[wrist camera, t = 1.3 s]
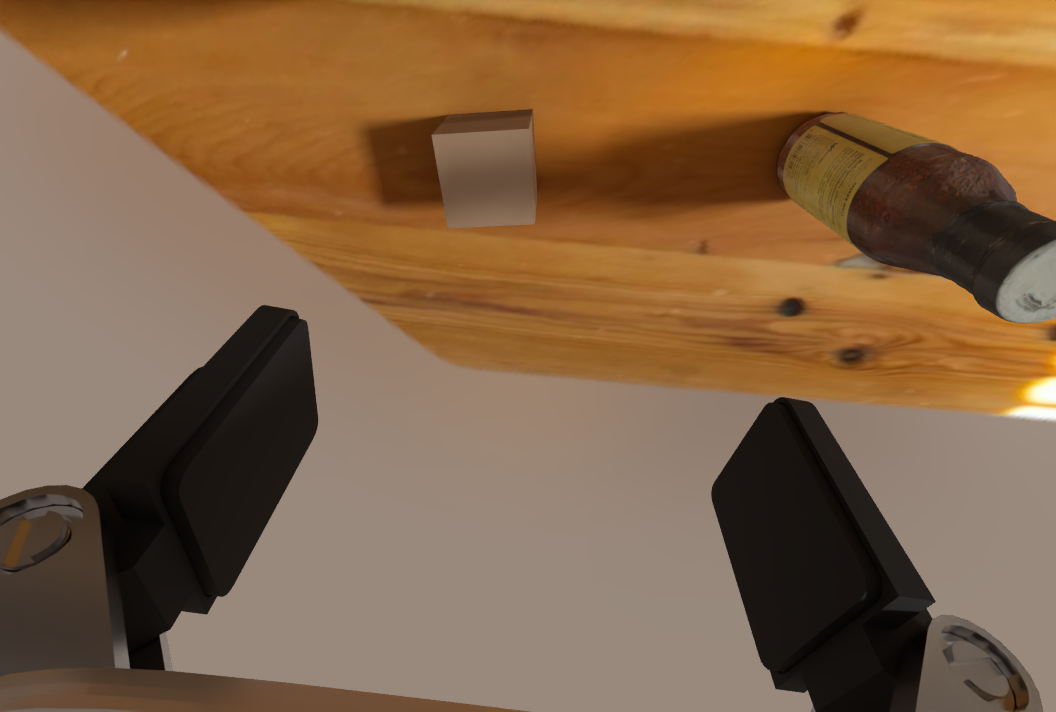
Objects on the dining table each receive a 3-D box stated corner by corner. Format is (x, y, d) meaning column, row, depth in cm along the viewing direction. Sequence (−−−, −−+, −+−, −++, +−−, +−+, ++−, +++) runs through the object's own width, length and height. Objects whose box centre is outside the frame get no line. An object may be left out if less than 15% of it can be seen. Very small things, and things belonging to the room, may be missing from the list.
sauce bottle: (787, 213, 38) (955, 377, 22) (760, 141, 35) (933, 271, 19) (879, 165, 35) (1145, 310, 19) (860, 84, 32) (1155, 176, 16)
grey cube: (448, 114, 35) (431, 134, 30) (532, 109, 34) (528, 128, 29) (461, 198, 38) (447, 228, 33) (537, 194, 38) (534, 224, 33)
